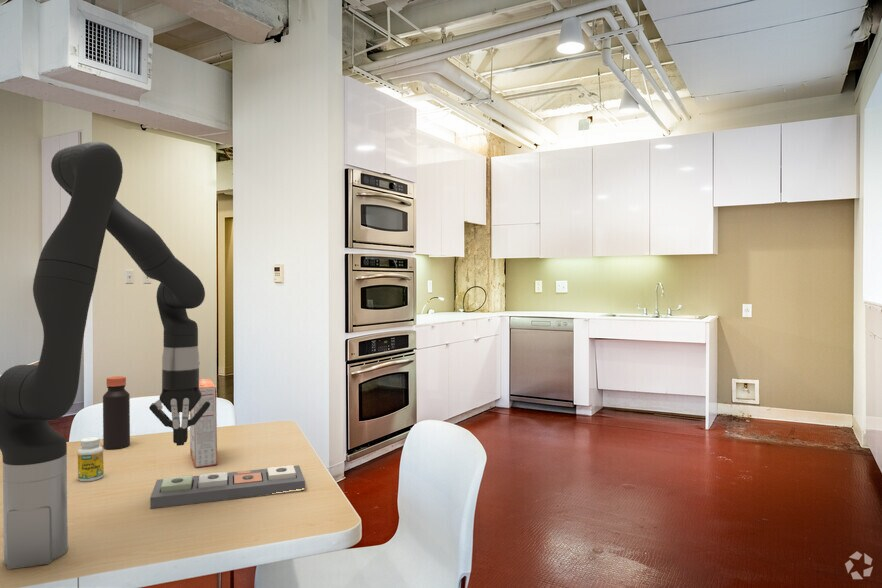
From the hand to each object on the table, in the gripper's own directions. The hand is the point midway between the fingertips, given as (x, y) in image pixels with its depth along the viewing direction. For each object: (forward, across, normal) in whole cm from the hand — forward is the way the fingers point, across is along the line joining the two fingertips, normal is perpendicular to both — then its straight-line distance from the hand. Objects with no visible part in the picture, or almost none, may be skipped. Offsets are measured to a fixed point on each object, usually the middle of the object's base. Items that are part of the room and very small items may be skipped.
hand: (180, 444), depth 131 cm
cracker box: (+12, +3, +28) cm, 30 cm away
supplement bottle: (+12, -22, +20) cm, 32 cm away
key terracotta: (+11, +14, +1) cm, 18 cm away
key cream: (+10, +22, +1) cm, 24 cm away
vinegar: (+12, -21, +49) cm, 55 cm away
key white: (+10, +7, +1) cm, 12 cm away
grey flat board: (+12, +10, +1) cm, 16 cm away
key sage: (+10, -1, +1) cm, 10 cm away
